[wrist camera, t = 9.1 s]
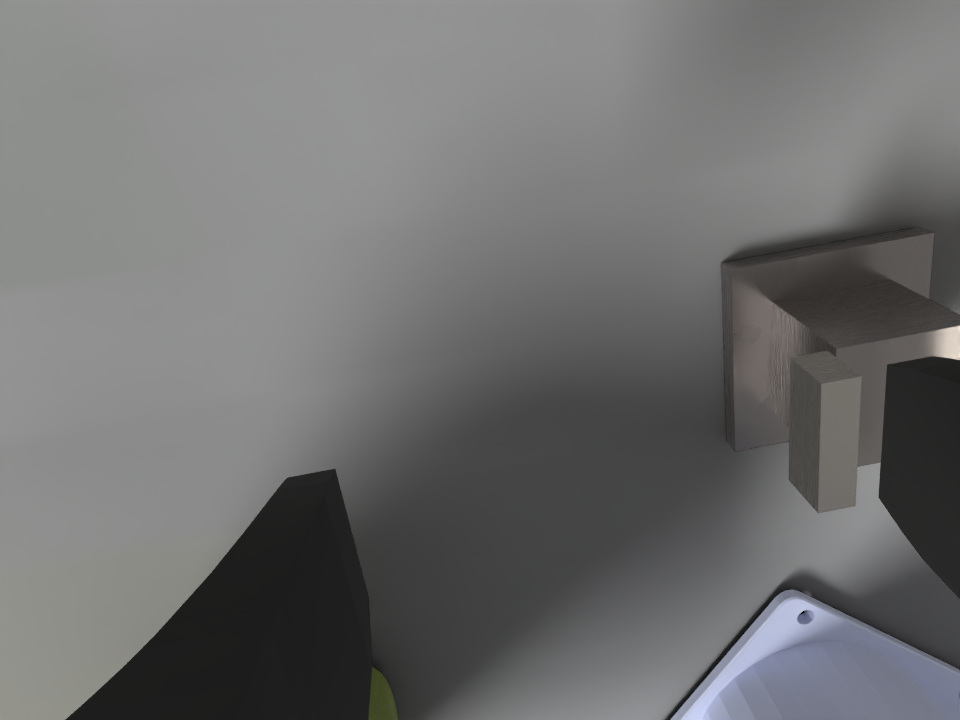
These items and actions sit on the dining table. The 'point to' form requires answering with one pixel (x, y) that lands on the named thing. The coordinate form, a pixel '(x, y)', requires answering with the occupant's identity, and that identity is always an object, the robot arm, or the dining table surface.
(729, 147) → the dining table surface
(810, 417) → the standards
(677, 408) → the dining table surface
